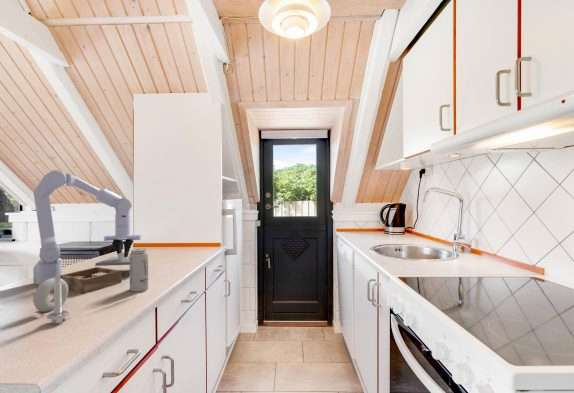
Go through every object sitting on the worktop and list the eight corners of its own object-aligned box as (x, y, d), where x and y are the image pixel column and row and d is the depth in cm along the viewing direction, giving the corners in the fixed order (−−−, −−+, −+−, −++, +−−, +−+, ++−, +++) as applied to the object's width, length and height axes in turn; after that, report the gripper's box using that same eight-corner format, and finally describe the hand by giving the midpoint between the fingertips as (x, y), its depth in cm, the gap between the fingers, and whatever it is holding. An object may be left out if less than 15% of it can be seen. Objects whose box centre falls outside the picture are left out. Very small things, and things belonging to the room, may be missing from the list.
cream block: (91, 283, 117) (91, 274, 117) (102, 281, 120) (101, 272, 120) (98, 285, 115) (98, 275, 115) (108, 282, 119) (108, 273, 119)
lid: (95, 265, 124) (95, 256, 124) (111, 259, 139) (111, 251, 139) (134, 264, 126) (135, 255, 126) (146, 258, 141) (146, 250, 141)
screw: (44, 327, 80) (49, 320, 85) (66, 324, 82) (70, 317, 87) (43, 277, 80) (49, 273, 85) (65, 275, 82) (70, 271, 87)
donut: (40, 318, 86) (39, 283, 86) (30, 317, 87) (29, 282, 87) (71, 305, 96) (71, 274, 96) (62, 305, 97) (62, 273, 96)
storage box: (59, 290, 111) (59, 275, 111) (97, 280, 124) (97, 267, 124) (84, 295, 105) (84, 279, 105) (121, 284, 118) (121, 270, 118)
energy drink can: (144, 293, 107) (144, 250, 107) (126, 294, 107) (126, 251, 107) (151, 288, 113) (150, 247, 113) (134, 288, 113) (133, 248, 113)
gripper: (100, 227, 128) (100, 259, 128) (137, 226, 130) (137, 258, 130) (108, 225, 135) (108, 256, 135) (142, 224, 137) (143, 255, 137)
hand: (123, 256), depth 133 cm, fingers closed on lid, 2 cm apart
